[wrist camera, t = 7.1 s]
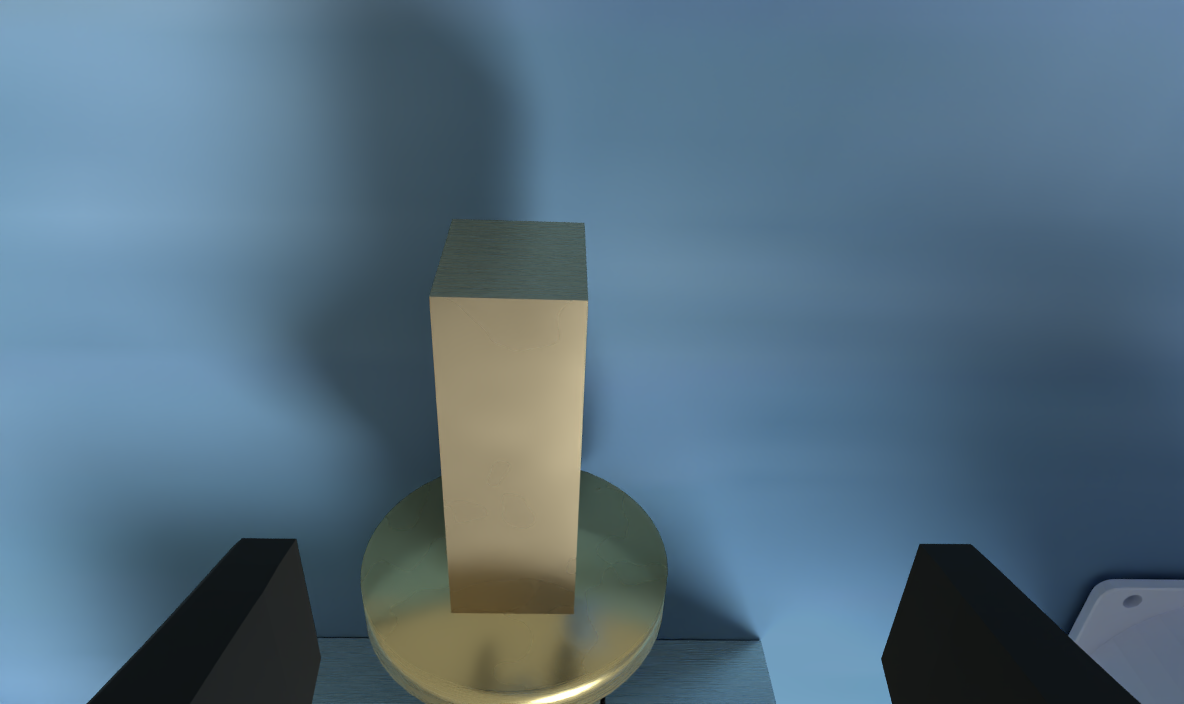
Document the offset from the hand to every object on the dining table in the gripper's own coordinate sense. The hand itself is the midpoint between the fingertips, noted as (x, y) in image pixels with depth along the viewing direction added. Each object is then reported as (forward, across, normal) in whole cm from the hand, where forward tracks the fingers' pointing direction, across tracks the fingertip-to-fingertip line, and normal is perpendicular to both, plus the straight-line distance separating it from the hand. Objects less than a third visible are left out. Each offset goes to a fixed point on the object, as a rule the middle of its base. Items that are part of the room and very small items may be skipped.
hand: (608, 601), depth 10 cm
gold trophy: (+9, +1, +5) cm, 11 cm away
